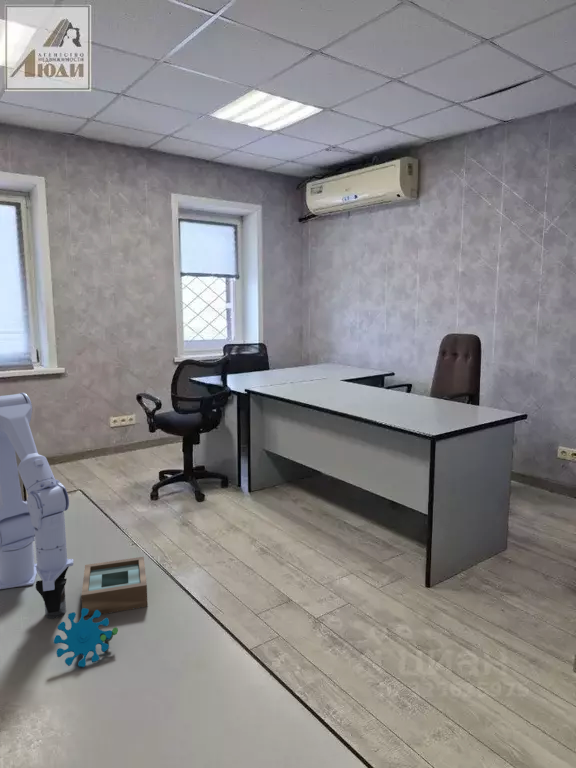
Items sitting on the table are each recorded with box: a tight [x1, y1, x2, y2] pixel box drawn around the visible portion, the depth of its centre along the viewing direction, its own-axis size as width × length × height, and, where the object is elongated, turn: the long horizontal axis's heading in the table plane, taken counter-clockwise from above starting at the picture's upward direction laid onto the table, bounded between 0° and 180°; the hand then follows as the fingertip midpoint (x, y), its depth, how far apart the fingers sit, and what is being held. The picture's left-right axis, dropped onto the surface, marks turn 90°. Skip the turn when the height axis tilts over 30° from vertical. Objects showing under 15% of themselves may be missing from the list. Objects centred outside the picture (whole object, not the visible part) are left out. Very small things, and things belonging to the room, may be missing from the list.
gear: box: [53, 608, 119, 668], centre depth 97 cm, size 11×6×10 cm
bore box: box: [81, 556, 148, 618], centre depth 115 cm, size 13×13×5 cm
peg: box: [44, 577, 67, 620], centre depth 108 cm, size 4×4×7 cm
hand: (55, 604), depth 108 cm, fingers open, 4 cm apart
